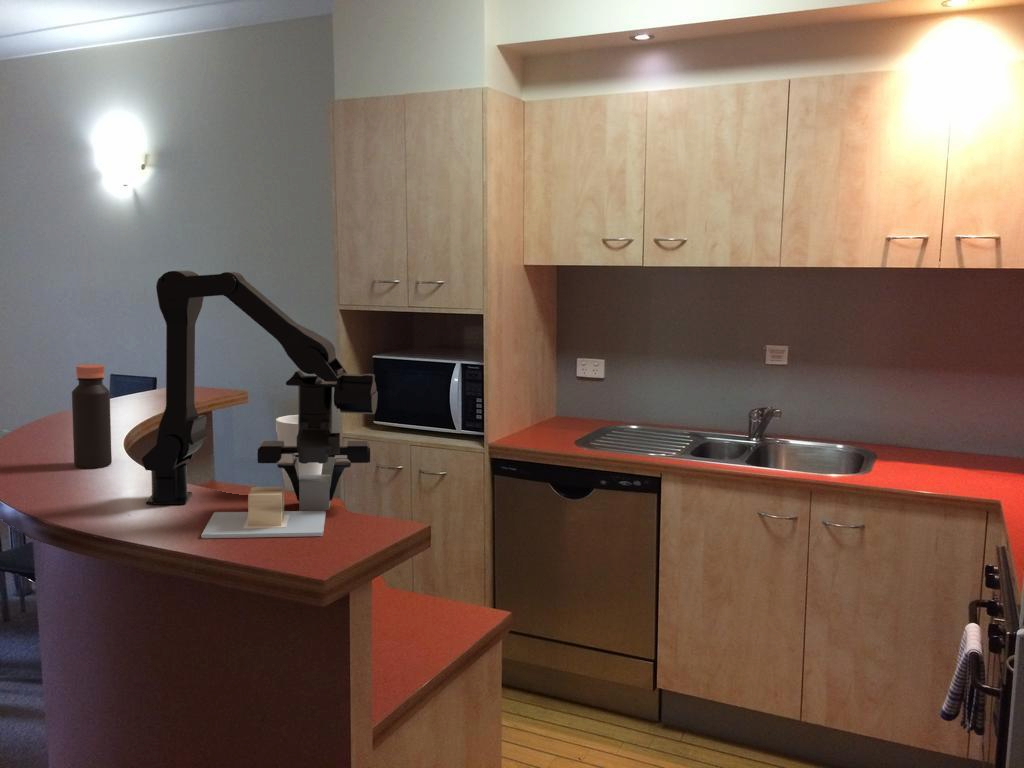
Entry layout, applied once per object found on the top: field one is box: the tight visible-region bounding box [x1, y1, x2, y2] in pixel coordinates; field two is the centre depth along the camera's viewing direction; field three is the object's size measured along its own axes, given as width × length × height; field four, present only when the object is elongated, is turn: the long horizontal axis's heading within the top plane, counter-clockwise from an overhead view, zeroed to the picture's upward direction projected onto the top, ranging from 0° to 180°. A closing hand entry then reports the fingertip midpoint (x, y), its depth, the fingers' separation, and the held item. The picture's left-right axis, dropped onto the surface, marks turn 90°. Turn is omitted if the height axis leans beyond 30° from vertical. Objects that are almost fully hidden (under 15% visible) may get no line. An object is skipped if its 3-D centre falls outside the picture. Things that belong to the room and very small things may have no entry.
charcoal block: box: [298, 474, 331, 511], centre depth 153 cm, size 5×5×5 cm
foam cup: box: [275, 414, 324, 493], centre depth 165 cm, size 10×9×13 cm
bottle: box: [71, 364, 113, 470], centre depth 176 cm, size 7×7×20 cm
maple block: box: [247, 486, 285, 526], centre depth 141 cm, size 5×5×5 cm
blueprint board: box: [200, 510, 327, 539], centre depth 141 cm, size 12×18×1 cm, turn 100°
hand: (315, 500), depth 153 cm, fingers closed on charcoal block, 5 cm apart
